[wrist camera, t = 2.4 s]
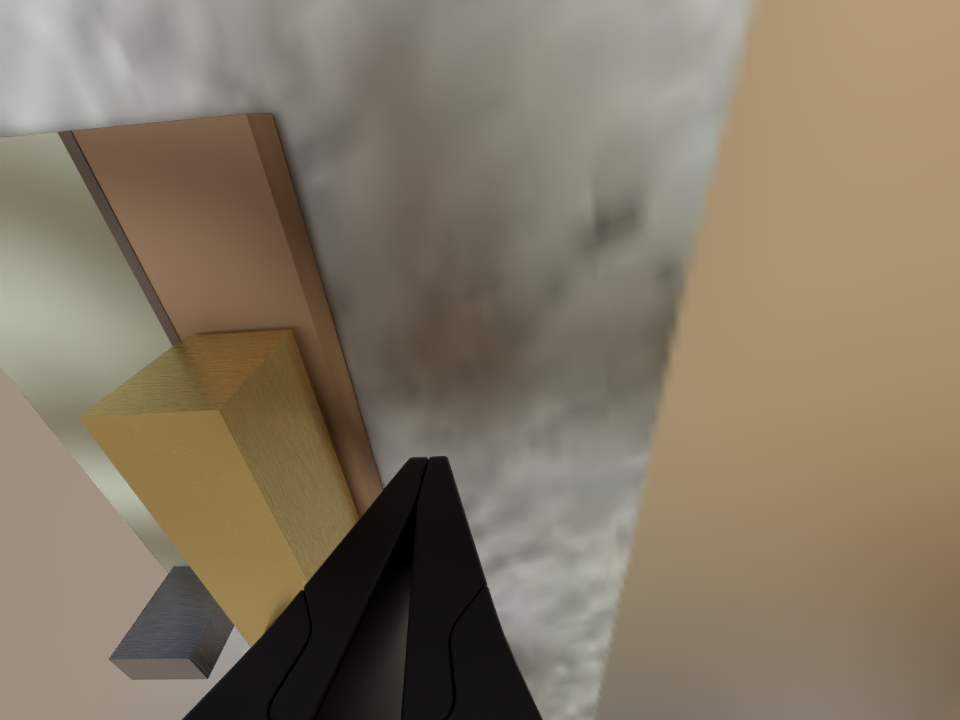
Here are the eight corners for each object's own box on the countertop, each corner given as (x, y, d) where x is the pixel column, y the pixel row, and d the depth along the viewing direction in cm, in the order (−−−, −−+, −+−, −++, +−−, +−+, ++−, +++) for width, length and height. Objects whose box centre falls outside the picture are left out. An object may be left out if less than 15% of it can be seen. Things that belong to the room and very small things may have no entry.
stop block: (254, 585, 18) (207, 679, 15) (190, 587, 18) (131, 679, 16) (240, 564, 17) (188, 658, 14) (173, 566, 18) (108, 659, 15)
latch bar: (371, 553, 16) (336, 682, 13) (298, 555, 17) (243, 682, 13) (291, 329, 11) (193, 437, 7) (186, 336, 11) (40, 444, 8)
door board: (404, 562, 19) (398, 589, 18) (199, 567, 20) (183, 593, 19) (271, 113, 10) (244, 113, 9) (-108, 150, 10) (-176, 154, 9)
